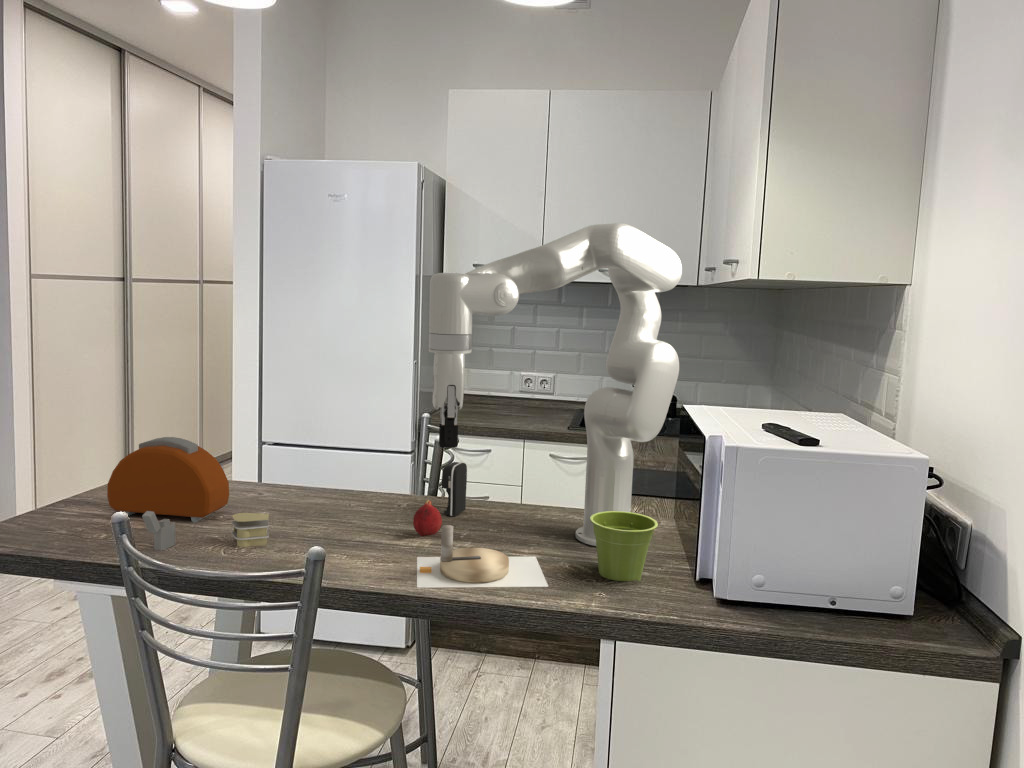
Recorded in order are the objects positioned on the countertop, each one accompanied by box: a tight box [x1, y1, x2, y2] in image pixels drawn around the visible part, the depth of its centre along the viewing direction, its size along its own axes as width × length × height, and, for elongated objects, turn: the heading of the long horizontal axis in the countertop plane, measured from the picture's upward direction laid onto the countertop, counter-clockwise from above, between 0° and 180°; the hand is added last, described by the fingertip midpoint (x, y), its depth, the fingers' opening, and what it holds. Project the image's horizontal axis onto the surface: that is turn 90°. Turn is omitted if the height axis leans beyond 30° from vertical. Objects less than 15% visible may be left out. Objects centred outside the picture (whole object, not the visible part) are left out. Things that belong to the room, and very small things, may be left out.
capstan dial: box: [440, 524, 509, 582], centre depth 140 cm, size 12×12×8 cm
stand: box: [416, 556, 549, 589], centre depth 141 cm, size 22×15×2 cm
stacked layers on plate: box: [231, 512, 270, 548], centre depth 156 cm, size 10×9×6 cm
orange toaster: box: [106, 436, 230, 523], centre depth 171 cm, size 23×9×17 cm, turn 82°
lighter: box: [141, 511, 177, 552], centre depth 150 cm, size 7×2×8 cm, turn 165°
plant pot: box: [590, 511, 659, 582], centre depth 142 cm, size 12×12×11 cm
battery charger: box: [441, 461, 468, 517], centre depth 181 cm, size 7×4×11 cm, turn 161°
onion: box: [412, 499, 443, 538], centre depth 161 cm, size 6×6×8 cm
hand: (448, 446), depth 143 cm, fingers closed
